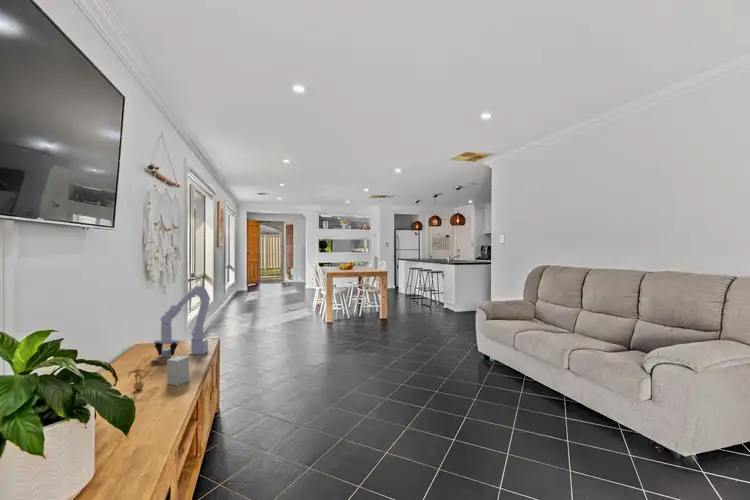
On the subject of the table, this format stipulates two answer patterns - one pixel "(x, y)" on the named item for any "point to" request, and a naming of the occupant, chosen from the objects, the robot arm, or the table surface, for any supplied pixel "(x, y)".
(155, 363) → the walnut pedestal
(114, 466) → the table surface
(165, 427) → the table surface
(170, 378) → the supplement box
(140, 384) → the figurine
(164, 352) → the blue block
